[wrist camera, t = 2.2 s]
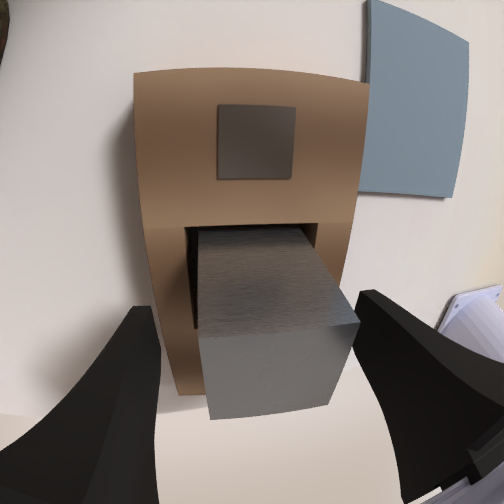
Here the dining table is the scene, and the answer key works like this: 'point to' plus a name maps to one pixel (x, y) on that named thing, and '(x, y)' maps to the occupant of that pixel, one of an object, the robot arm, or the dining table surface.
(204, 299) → the steel peg
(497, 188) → the dining table surface
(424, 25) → the slate mat
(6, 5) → the pitcher
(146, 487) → the robot arm
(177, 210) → the brown flat rectangular block
